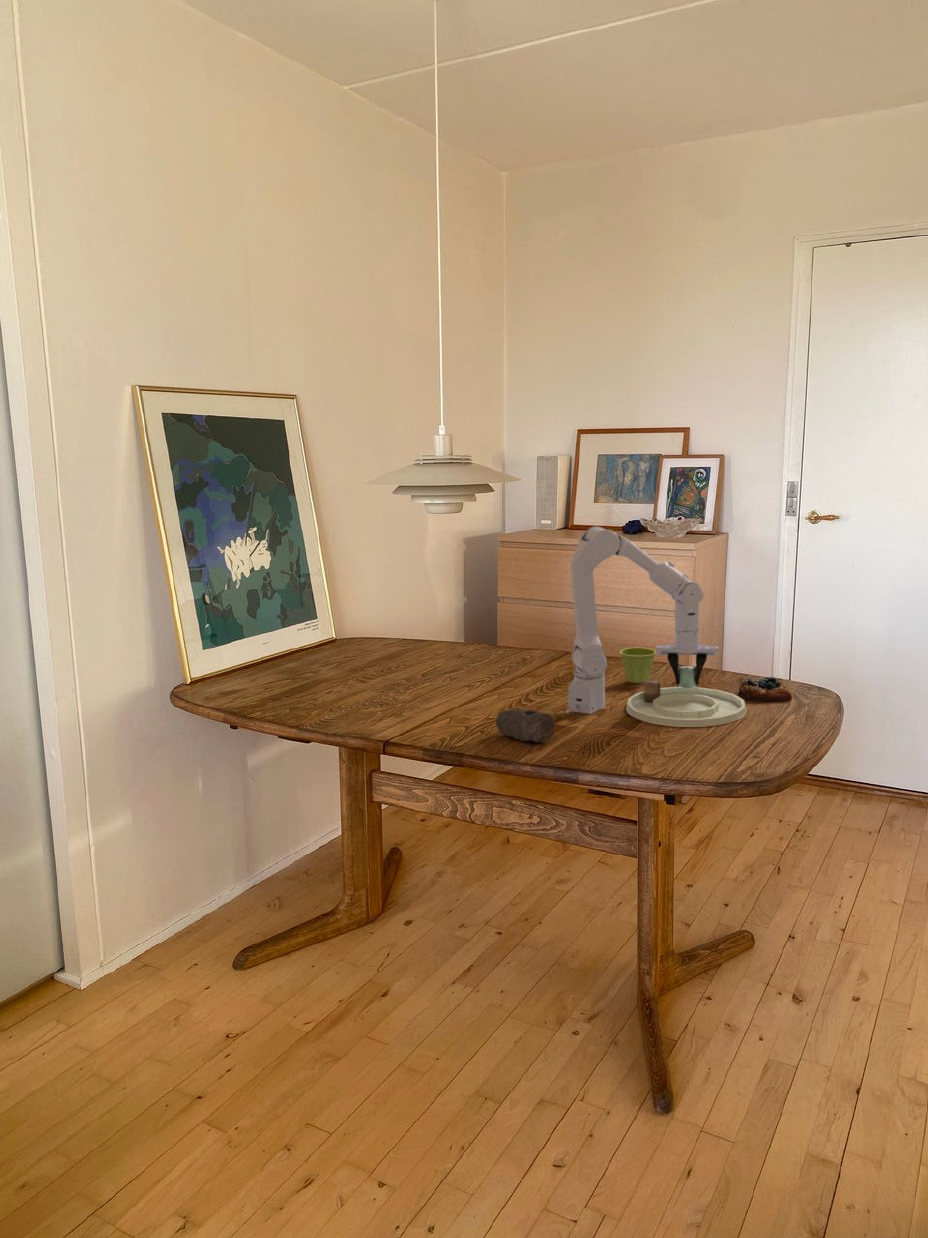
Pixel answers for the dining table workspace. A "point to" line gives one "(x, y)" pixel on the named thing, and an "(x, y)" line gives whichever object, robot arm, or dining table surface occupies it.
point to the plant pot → (637, 664)
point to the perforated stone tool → (526, 725)
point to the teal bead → (687, 676)
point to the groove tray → (688, 707)
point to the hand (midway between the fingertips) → (687, 683)
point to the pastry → (764, 690)
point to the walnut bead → (651, 691)
